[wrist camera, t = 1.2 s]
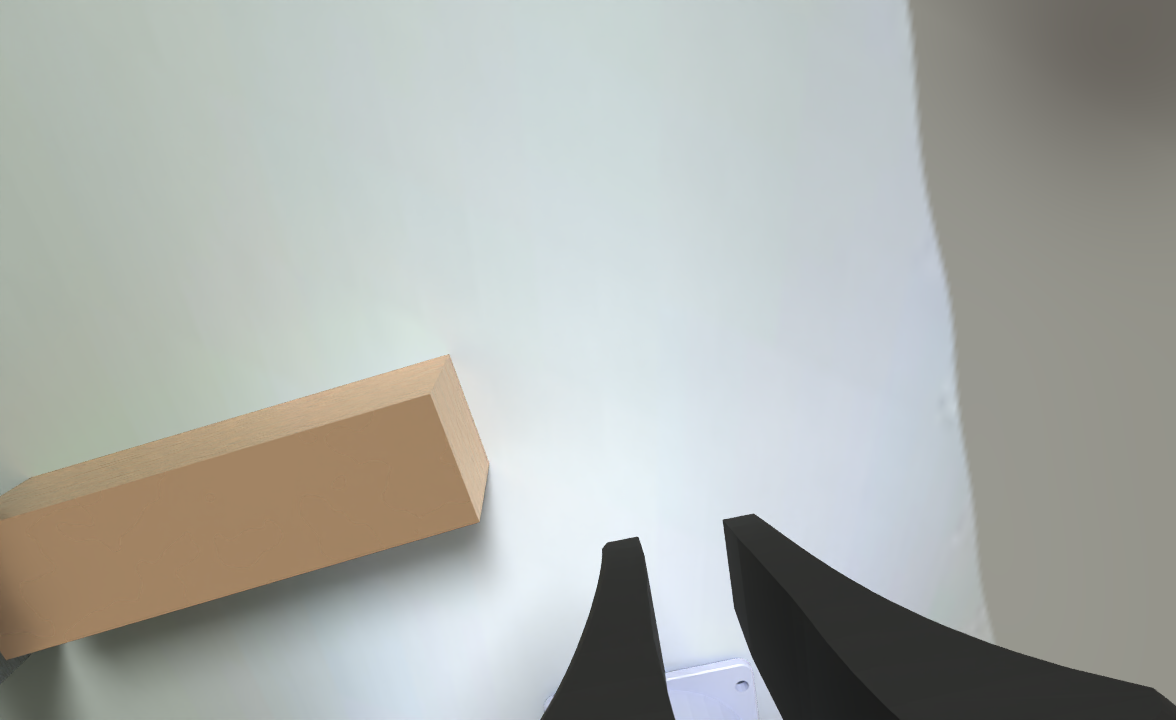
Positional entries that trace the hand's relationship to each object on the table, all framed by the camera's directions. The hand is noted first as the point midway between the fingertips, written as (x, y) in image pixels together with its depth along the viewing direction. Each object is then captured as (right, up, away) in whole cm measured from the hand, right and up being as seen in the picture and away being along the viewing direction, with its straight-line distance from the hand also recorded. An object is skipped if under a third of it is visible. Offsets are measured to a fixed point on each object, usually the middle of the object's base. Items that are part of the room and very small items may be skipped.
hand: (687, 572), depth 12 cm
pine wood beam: (-12, +1, +9) cm, 15 cm away
